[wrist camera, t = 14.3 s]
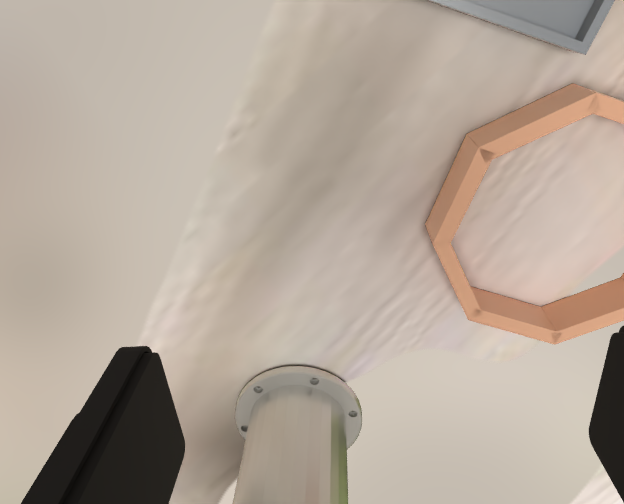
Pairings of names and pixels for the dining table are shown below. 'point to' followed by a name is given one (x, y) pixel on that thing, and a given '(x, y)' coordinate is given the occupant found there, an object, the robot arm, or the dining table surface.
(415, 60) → the dining table surface
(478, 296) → the collar
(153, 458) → the robot arm
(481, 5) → the tray
